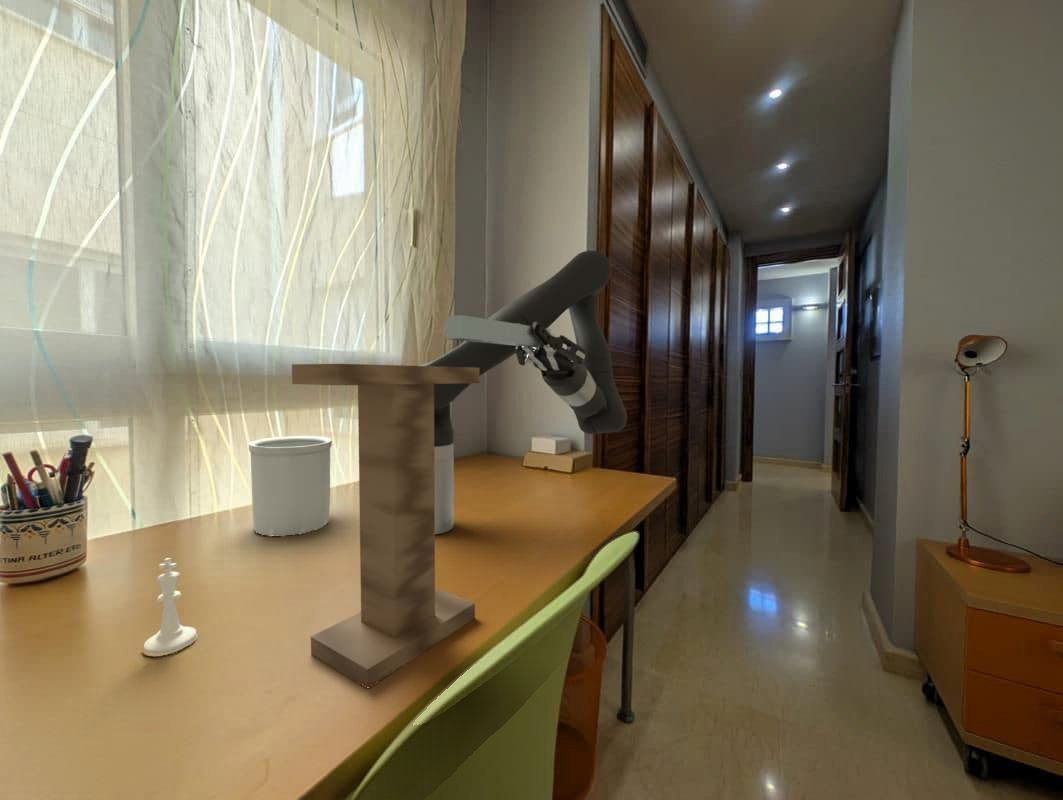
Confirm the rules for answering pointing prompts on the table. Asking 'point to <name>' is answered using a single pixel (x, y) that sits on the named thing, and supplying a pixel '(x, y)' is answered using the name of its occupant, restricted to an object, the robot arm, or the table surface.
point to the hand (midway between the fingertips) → (525, 327)
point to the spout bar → (489, 331)
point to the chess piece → (169, 616)
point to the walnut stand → (392, 521)
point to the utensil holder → (290, 484)
